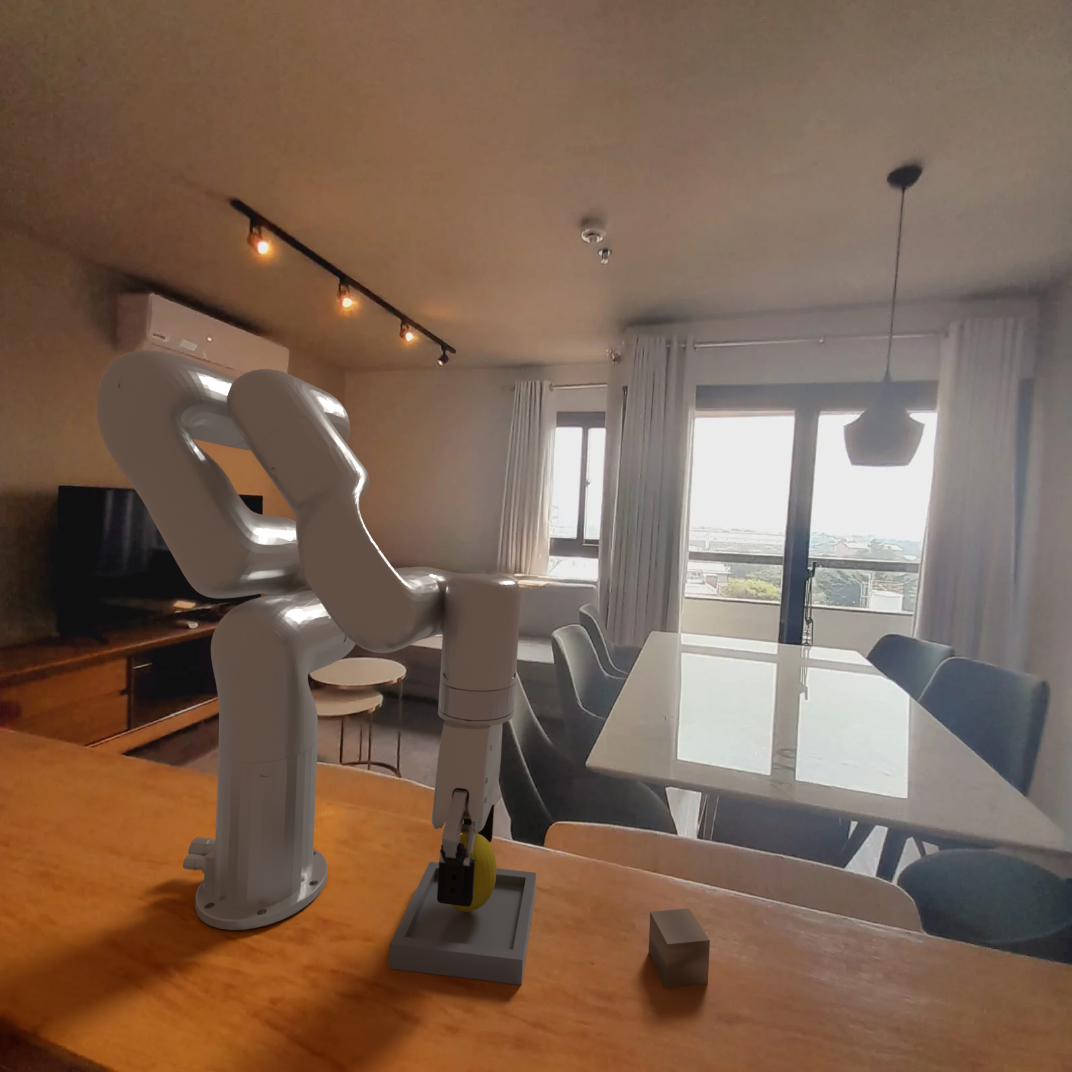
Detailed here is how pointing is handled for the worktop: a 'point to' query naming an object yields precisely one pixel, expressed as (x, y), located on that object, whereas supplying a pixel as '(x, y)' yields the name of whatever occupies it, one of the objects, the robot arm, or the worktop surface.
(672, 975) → the metal cube
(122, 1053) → the worktop surface
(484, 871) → the lemon
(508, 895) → the dish
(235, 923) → the robot arm
